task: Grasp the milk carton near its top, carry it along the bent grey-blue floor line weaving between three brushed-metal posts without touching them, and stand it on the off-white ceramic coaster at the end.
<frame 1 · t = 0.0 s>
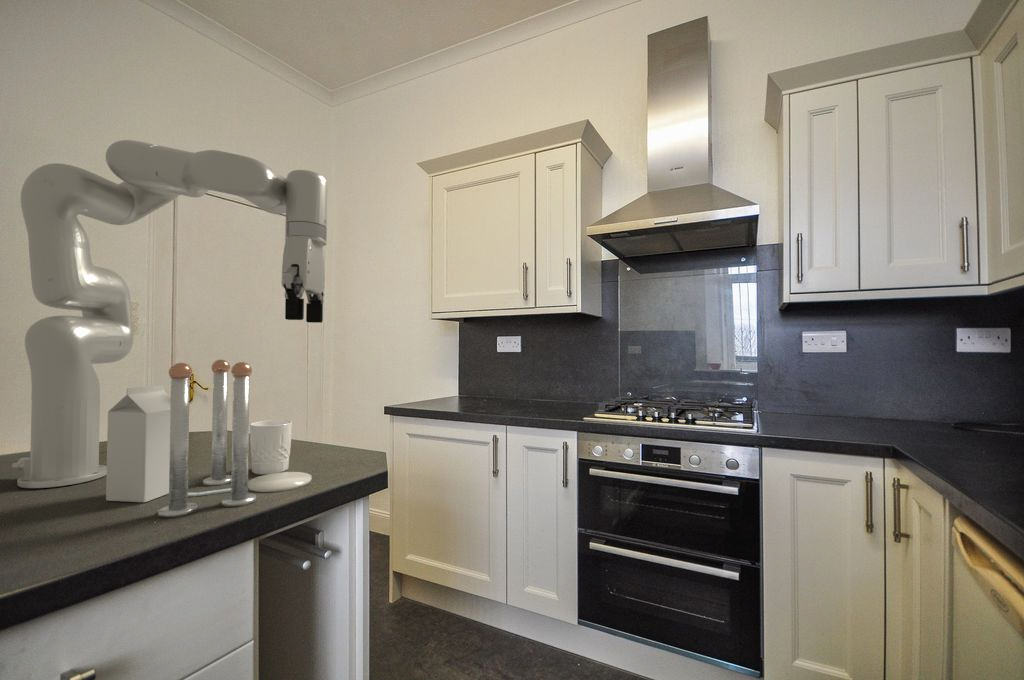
hand: (304, 321, 91), 31 cm above the counter, tool pointing down, fingers open, 9 cm apart
post3: (239, 501, 77), on the counter
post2: (178, 511, 72), on the counter
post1: (218, 481, 88), on the counter
coaster: (280, 482, 87), on the counter
milk carton: (144, 496, 79), on the counter
white cup: (270, 471, 96), on the counter
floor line: (197, 495, 80), on the counter
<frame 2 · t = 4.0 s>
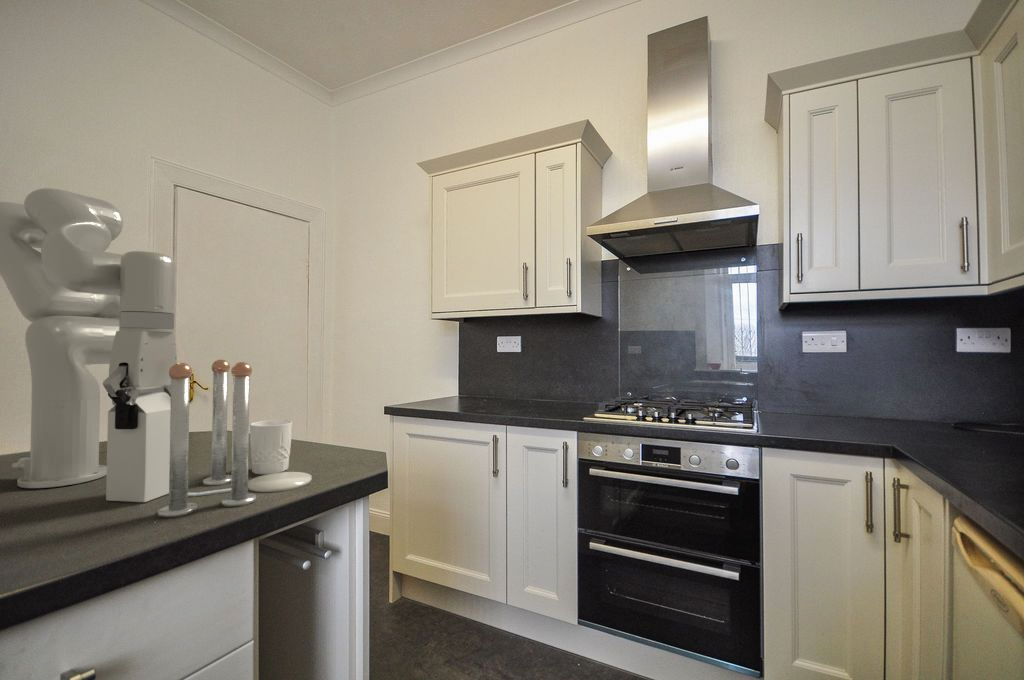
hand: (145, 423, 79), 12 cm above the counter, tool pointing down, fingers closed on milk carton, 7 cm apart
milk carton: (144, 496, 79), on the counter, touching gripper
everything else where it was.
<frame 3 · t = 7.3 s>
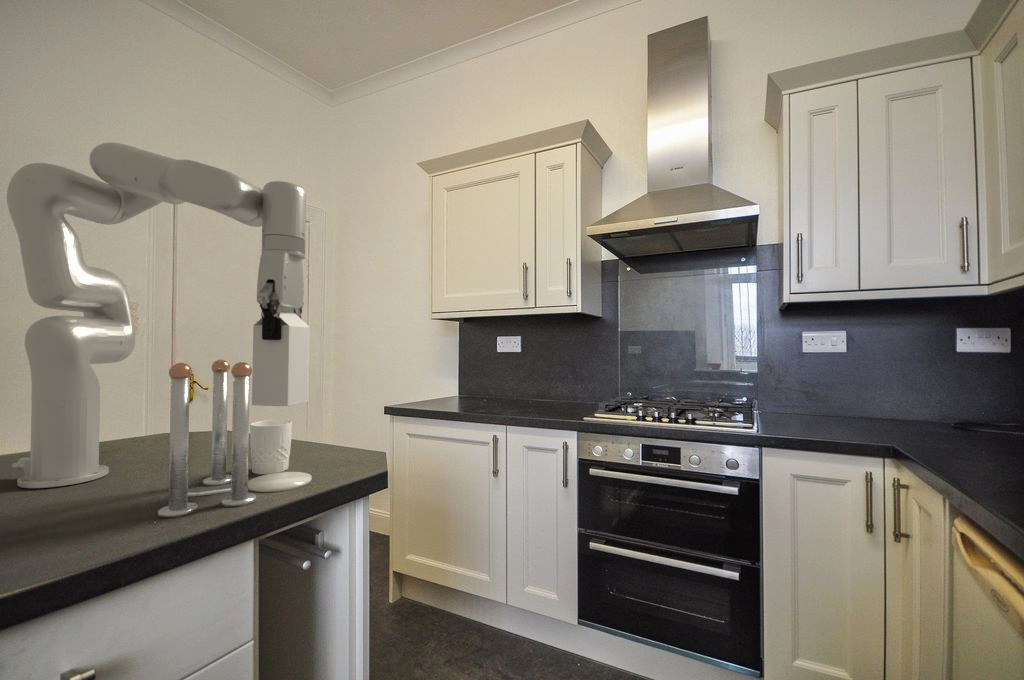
hand: (282, 339, 87), 27 cm above the counter, tool pointing down, fingers closed on milk carton, 7 cm apart
milk carton: (281, 405, 87), point 15 cm above the counter, touching gripper
everything else where it was.
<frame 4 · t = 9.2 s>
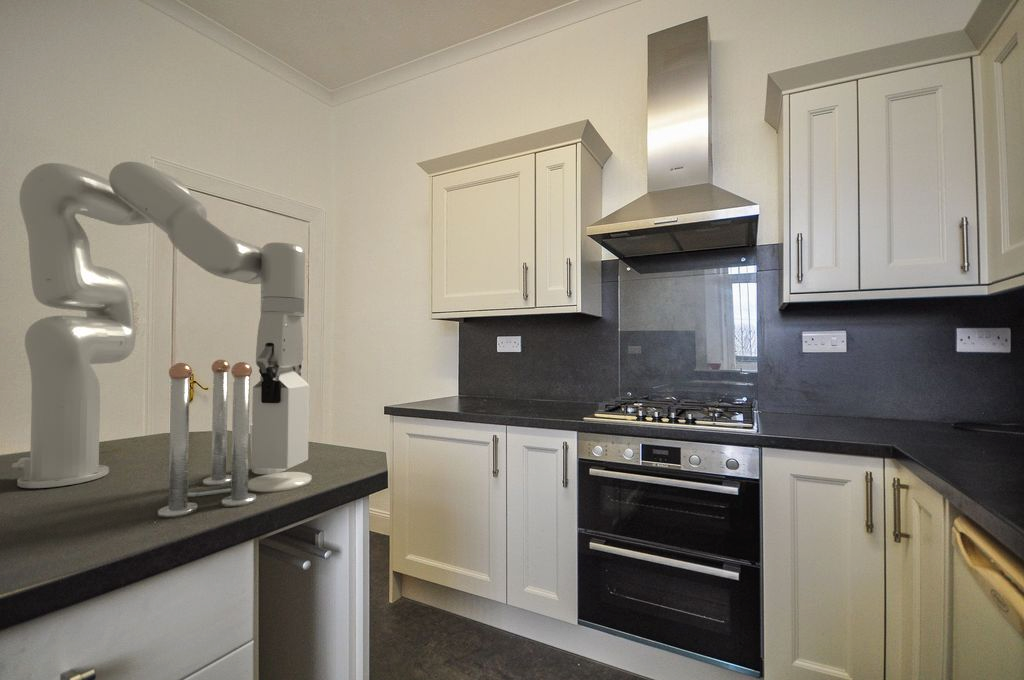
hand: (281, 399, 87), 16 cm above the counter, tool pointing down, fingers closed on milk carton, 7 cm apart
milk carton: (280, 465, 87), point 3 cm above the counter, touching gripper
everything else where it was.
when the fingers open (15 cm above the counter, at t = 10.6 s): milk carton drops 1 cm, resting on coaster.
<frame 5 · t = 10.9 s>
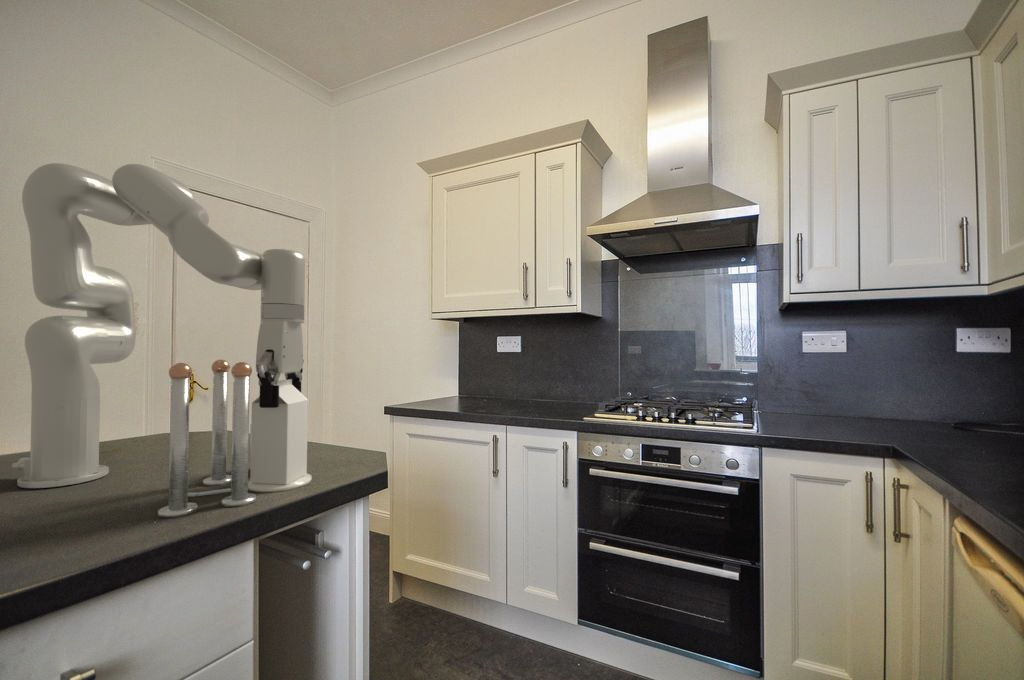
hand: (281, 404, 87), 15 cm above the counter, tool pointing down, fingers open, 9 cm apart
milk carton: (279, 480, 87), resting on coaster
everything else where it was.
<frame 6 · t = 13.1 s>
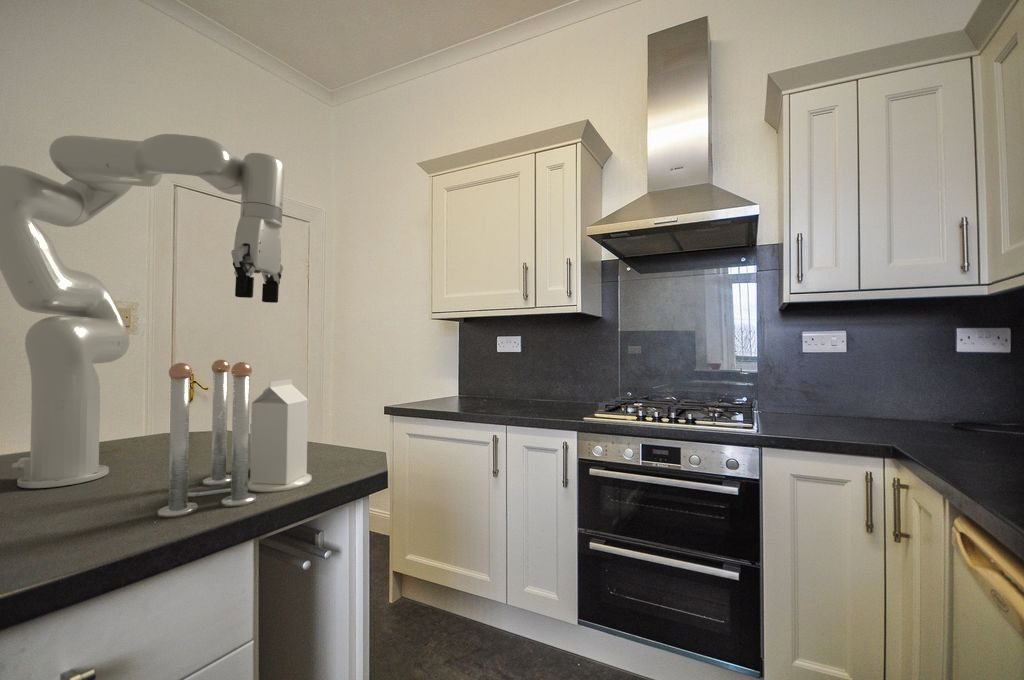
hand: (257, 299, 93), 36 cm above the counter, tool pointing down, fingers open, 9 cm apart
nothing on the counter moved.
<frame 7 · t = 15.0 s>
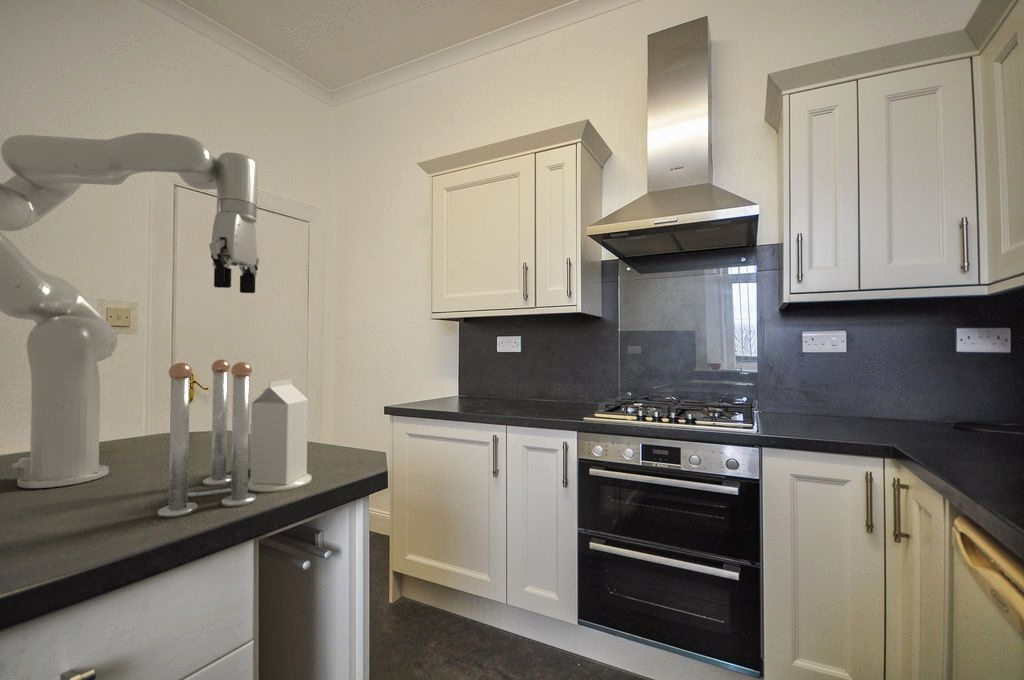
hand: (235, 290, 100), 38 cm above the counter, tool pointing down, fingers open, 9 cm apart
nothing on the counter moved.
at the end: milk carton inside the target area on the coaster (0.4 cm from its centre), point 0.4 cm above the coaster's base; milk carton tilted 0°; milk carton touching coaster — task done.
